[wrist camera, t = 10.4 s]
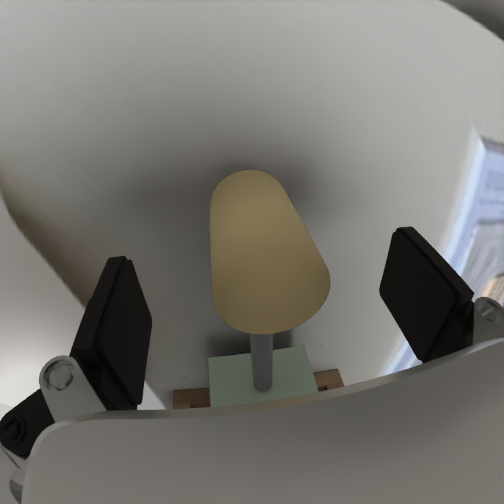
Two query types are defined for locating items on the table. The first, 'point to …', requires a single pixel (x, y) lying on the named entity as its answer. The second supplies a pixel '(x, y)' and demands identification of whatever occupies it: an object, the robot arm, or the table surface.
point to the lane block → (262, 288)
